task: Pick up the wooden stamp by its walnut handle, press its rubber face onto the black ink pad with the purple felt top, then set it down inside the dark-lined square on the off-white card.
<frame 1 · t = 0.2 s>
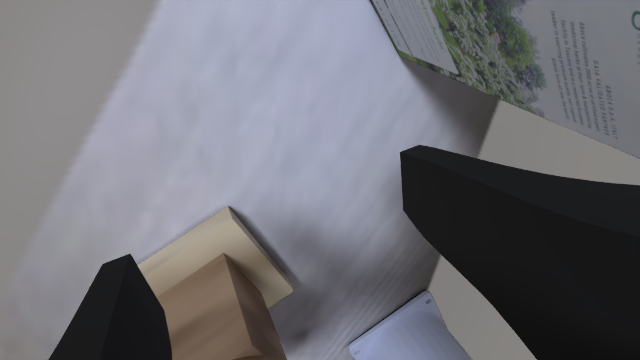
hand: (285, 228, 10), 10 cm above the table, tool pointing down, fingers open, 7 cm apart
stamp: (208, 276, 23), on the table
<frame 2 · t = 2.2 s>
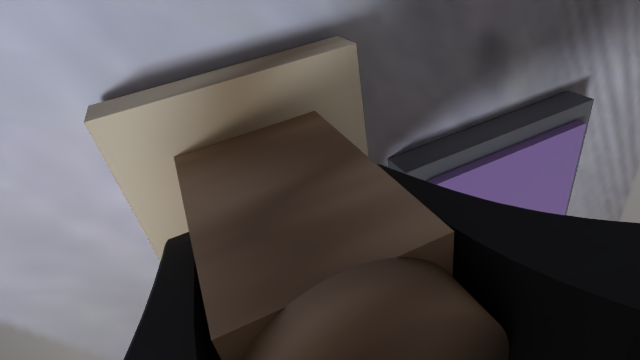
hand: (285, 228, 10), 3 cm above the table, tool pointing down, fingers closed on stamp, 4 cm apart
ink pad: (477, 208, 18), on the table
stamp: (252, 169, 13), on the table, touching gripper
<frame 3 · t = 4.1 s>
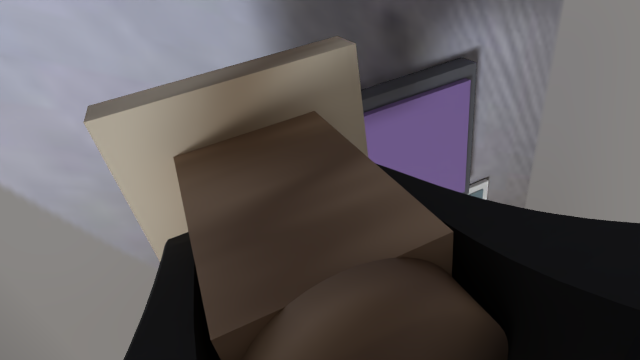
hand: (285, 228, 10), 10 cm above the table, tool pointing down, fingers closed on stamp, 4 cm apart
ink pad: (398, 150, 24), on the table
stamp: (252, 169, 13), point 7 cm above the table, touching gripper
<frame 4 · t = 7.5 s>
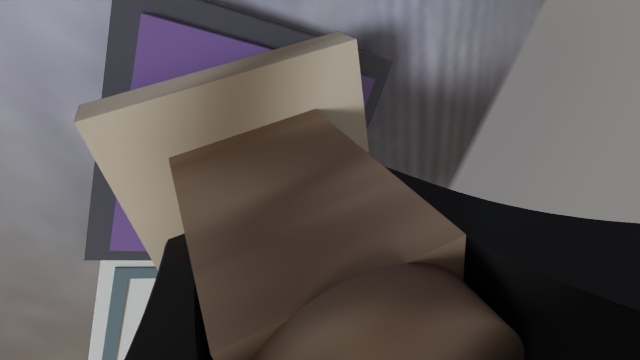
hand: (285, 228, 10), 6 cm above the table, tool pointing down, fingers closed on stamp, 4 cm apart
ink pad: (236, 144, 15), on the table
stamp: (250, 170, 13), point 3 cm above the table, touching gripper
form card: (217, 344, 19), on the table
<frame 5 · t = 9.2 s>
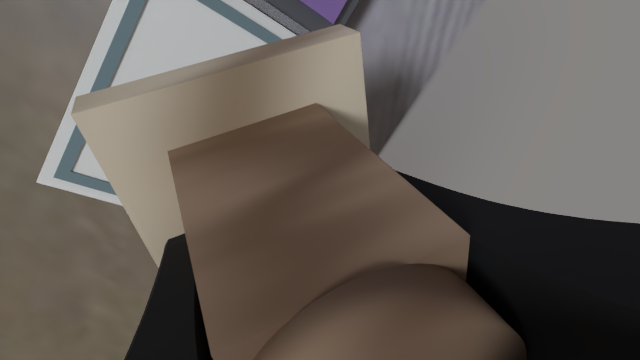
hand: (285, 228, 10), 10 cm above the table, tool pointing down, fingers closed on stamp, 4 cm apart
stamp: (249, 163, 12), point 7 cm above the table, touching gripper
form card: (210, 121, 19), on the table
when the fingers open (5 cm above the table, at t = 11.2 s): stamp drops 1 cm, resting on form card.
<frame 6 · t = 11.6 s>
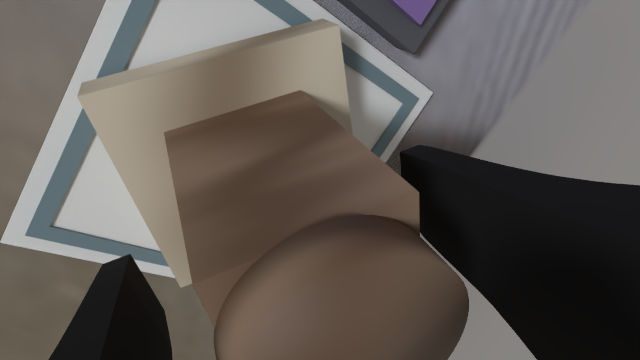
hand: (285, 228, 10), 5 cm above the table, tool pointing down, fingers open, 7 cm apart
stamp: (241, 148, 13), resting on form card
form card: (243, 154, 14), on the table
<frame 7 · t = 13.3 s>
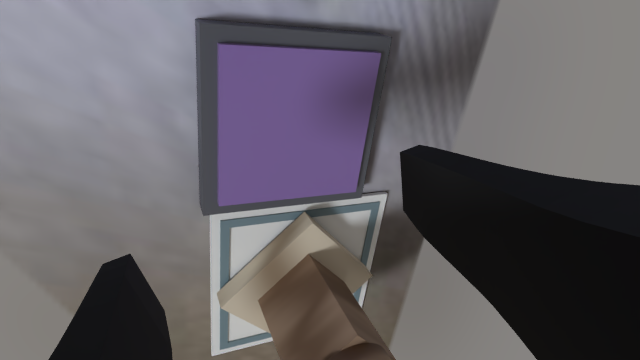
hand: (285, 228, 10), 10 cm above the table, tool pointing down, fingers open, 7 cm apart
ink pad: (288, 119, 20), on the table
stamp: (294, 274, 25), resting on form card
form card: (297, 272, 26), on the table
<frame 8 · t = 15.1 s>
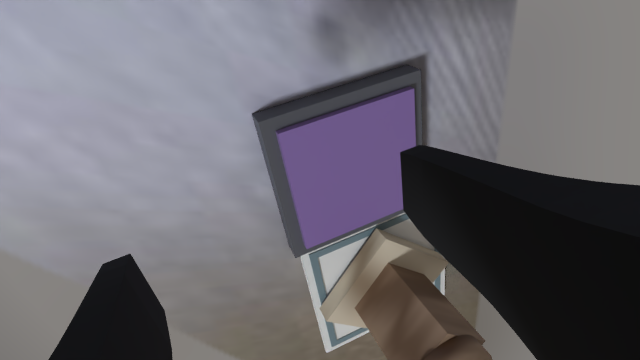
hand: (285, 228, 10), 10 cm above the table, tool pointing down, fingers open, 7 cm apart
ink pad: (344, 160, 23), on the table
stamp: (379, 276, 29), resting on form card
form card: (380, 273, 29), on the table
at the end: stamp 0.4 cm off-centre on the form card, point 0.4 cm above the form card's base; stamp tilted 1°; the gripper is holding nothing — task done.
